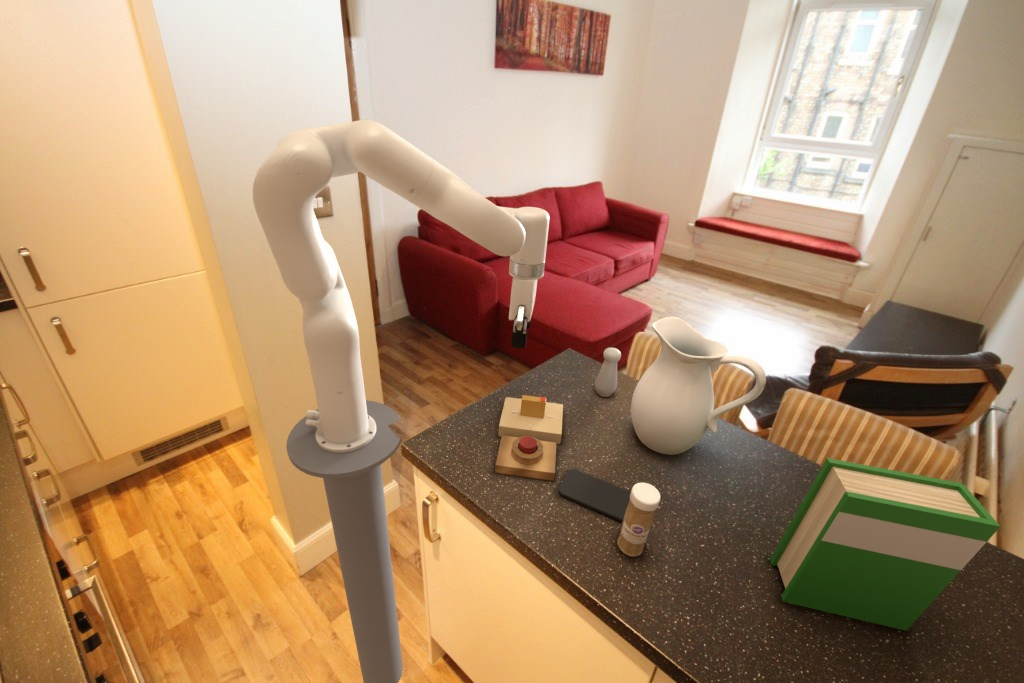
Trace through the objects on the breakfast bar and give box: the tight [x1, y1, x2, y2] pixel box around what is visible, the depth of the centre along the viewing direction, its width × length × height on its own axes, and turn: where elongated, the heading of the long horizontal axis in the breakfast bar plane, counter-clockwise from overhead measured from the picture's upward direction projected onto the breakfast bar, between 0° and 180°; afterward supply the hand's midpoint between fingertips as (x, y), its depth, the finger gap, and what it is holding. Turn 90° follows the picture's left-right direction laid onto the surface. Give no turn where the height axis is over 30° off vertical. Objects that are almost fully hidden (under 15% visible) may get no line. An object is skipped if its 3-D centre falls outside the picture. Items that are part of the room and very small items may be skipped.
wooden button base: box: [494, 435, 557, 482], centre depth 93 cm, size 12×9×4 cm
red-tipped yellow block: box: [520, 394, 547, 418], centre depth 102 cm, size 6×2×5 cm, turn 83°
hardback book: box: [769, 457, 1001, 631], centre depth 67 cm, size 18×7×24 cm, turn 78°
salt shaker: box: [594, 347, 622, 398], centre depth 115 cm, size 6×6×13 cm
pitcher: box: [630, 316, 767, 456], centre depth 94 cm, size 24×17×28 cm
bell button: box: [519, 436, 537, 454], centre depth 92 cm, size 4×4×2 cm
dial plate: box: [497, 396, 564, 445], centre depth 104 cm, size 14×11×3 cm
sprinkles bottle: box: [616, 482, 661, 558], centre depth 75 cm, size 5×5×13 cm
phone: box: [558, 468, 631, 523], centre depth 87 cm, size 7×1×15 cm
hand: (520, 337), depth 104 cm, fingers open, 9 cm apart
